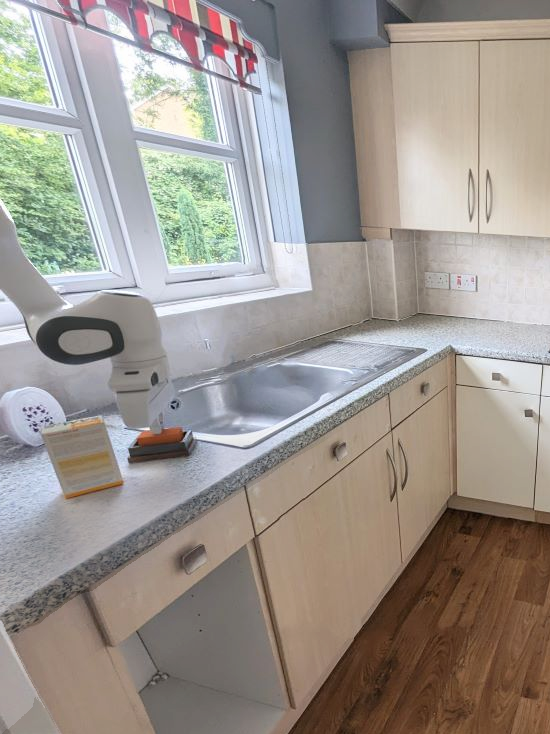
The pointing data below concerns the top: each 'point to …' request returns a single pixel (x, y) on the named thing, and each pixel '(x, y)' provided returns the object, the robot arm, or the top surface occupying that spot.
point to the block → (160, 436)
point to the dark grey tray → (162, 449)
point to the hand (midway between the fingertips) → (158, 431)
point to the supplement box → (81, 455)
